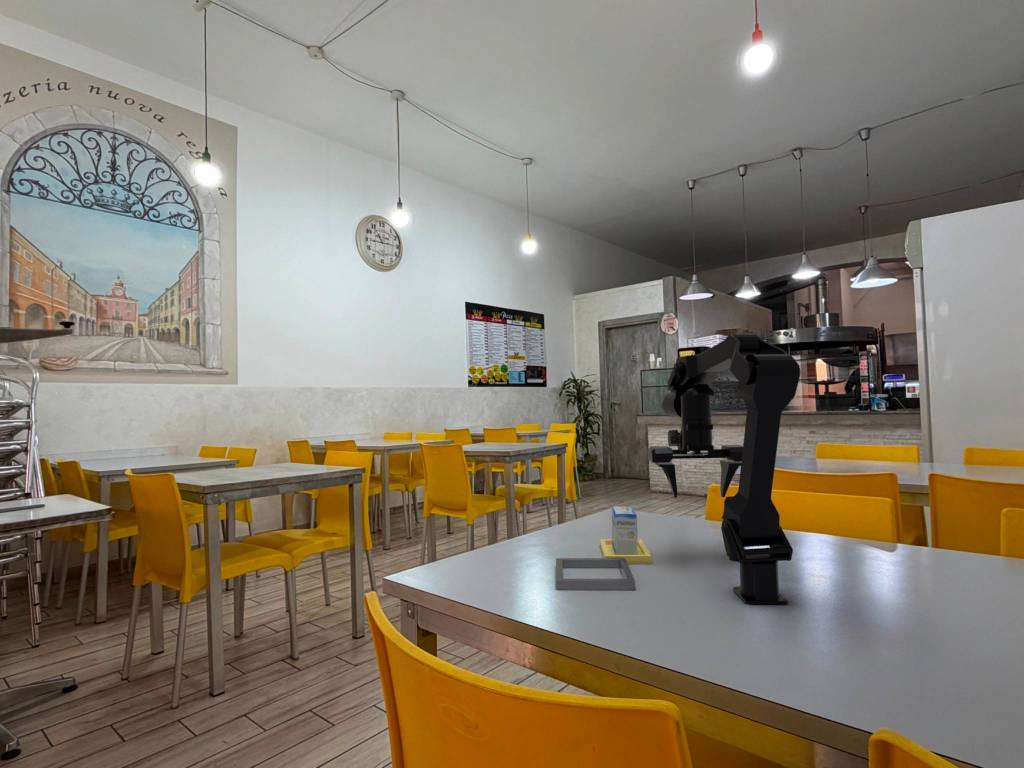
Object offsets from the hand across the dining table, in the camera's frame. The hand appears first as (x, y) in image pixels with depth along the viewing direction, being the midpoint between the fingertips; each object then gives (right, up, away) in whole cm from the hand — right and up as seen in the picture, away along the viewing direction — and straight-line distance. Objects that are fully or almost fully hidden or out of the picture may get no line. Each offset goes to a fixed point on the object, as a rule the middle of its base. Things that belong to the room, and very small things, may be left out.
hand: (698, 497), depth 109 cm
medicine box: (-14, -13, +5) cm, 19 cm away
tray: (-14, -13, +5) cm, 20 cm away
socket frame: (-22, -13, -9) cm, 27 cm away
